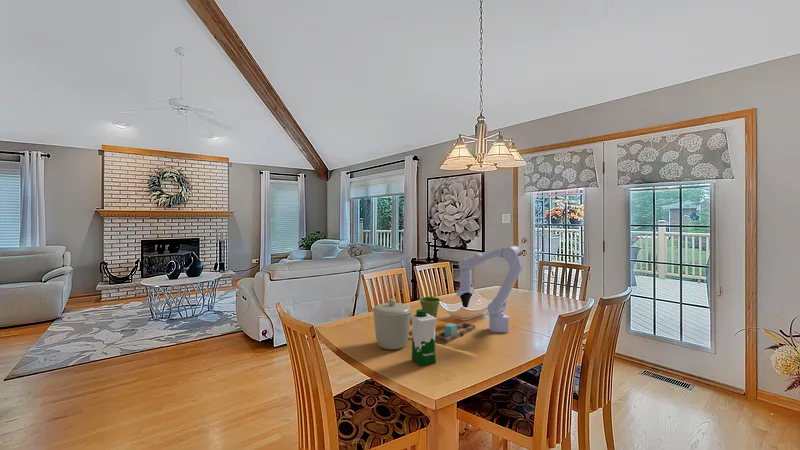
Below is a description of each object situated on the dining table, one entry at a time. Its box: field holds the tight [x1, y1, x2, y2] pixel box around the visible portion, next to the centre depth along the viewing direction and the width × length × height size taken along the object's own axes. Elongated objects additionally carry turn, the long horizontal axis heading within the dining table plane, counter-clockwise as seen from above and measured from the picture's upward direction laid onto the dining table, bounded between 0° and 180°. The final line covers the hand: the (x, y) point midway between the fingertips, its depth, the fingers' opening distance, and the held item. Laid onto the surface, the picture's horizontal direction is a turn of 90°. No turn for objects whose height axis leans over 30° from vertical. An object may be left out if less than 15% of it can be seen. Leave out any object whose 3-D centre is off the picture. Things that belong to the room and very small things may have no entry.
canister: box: [371, 298, 414, 351], centre depth 161 cm, size 18×18×21 cm
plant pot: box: [418, 296, 442, 318], centre depth 202 cm, size 12×12×11 cm
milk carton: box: [410, 308, 438, 367], centre depth 145 cm, size 9×9×20 cm
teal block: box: [443, 322, 458, 338], centre depth 171 cm, size 5×4×6 cm
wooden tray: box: [435, 322, 476, 346], centre depth 174 cm, size 26×8×3 cm, turn 140°
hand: (465, 306), depth 191 cm, fingers closed
